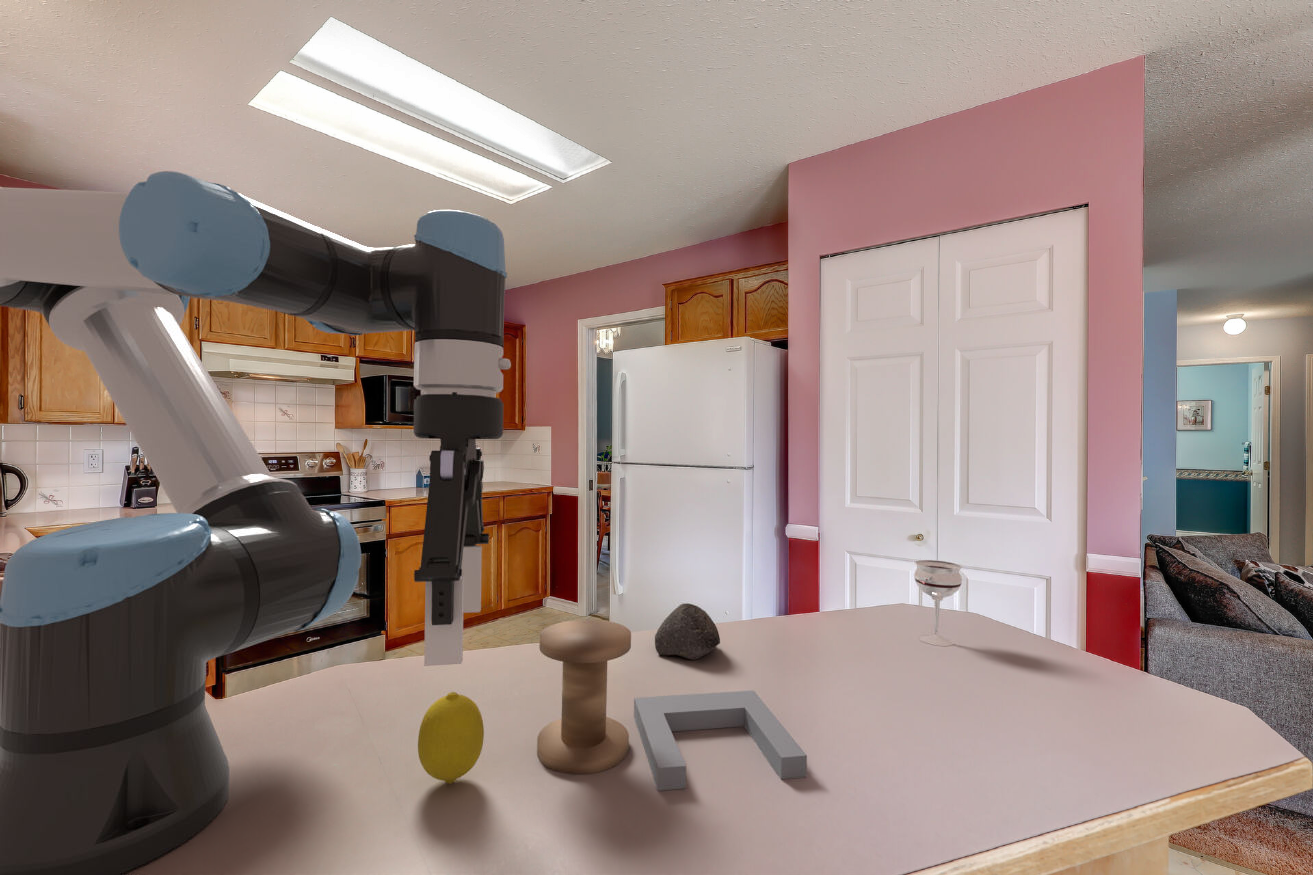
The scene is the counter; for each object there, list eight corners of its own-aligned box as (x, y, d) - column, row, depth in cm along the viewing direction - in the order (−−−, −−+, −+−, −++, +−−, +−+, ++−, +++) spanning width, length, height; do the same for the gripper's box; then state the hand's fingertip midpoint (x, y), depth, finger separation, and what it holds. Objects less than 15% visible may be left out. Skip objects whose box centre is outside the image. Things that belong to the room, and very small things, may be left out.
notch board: (657, 790, 52) (658, 767, 52) (633, 715, 65) (634, 697, 65) (806, 776, 54) (806, 755, 54) (753, 707, 68) (753, 690, 68)
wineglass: (959, 637, 94) (960, 562, 94) (961, 650, 88) (963, 571, 88) (912, 630, 97) (914, 558, 97) (912, 643, 91) (914, 566, 91)
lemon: (462, 806, 49) (464, 710, 49) (403, 796, 50) (405, 702, 50) (493, 769, 54) (495, 683, 54) (439, 761, 55) (441, 676, 55)
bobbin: (536, 778, 53) (539, 652, 53) (537, 728, 62) (540, 621, 62) (634, 769, 55) (637, 647, 55) (622, 723, 64) (624, 618, 64)
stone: (658, 666, 89) (634, 634, 83) (686, 619, 94) (665, 585, 87) (712, 694, 84) (691, 662, 77) (740, 642, 88) (722, 608, 81)
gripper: (491, 383, 41) (487, 690, 41) (511, 403, 65) (508, 595, 65) (374, 380, 39) (370, 698, 39) (439, 401, 64) (436, 597, 64)
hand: (456, 634), depth 52 cm, fingers open, 13 cm apart
